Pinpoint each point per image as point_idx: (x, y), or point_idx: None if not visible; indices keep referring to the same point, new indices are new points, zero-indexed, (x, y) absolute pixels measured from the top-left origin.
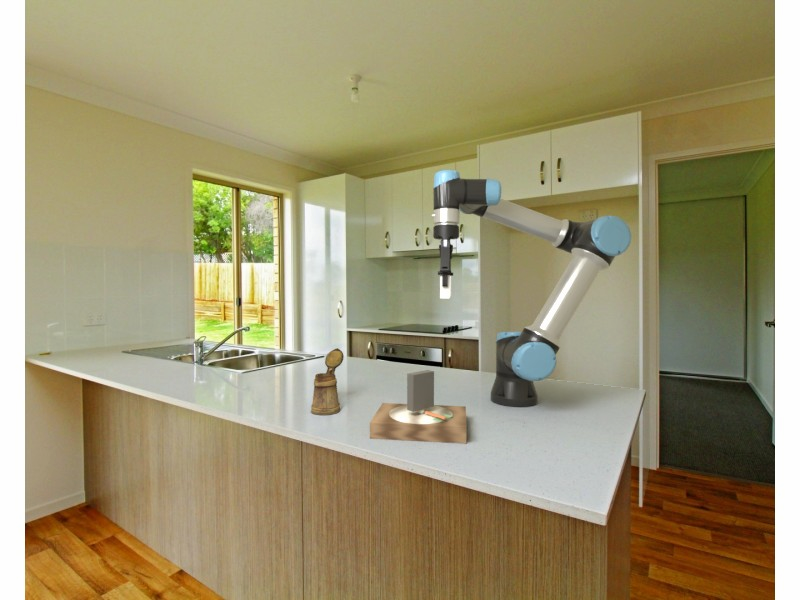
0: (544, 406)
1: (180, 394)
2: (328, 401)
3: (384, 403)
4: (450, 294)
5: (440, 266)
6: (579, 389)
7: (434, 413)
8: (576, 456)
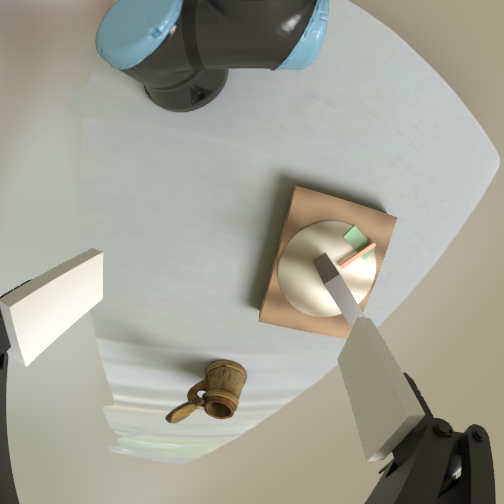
0: None
1: (170, 462)
2: (241, 383)
3: (262, 319)
4: (95, 259)
5: (448, 490)
6: None
7: (355, 256)
8: (429, 103)
